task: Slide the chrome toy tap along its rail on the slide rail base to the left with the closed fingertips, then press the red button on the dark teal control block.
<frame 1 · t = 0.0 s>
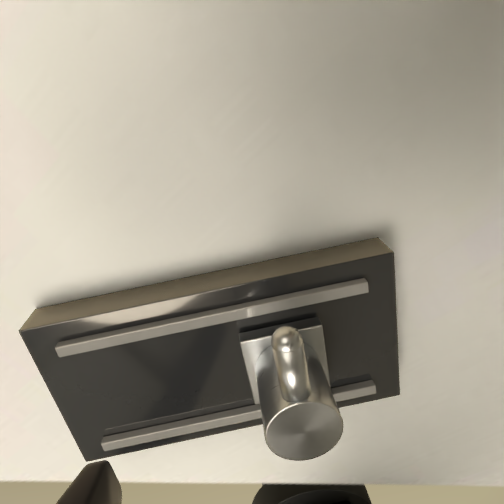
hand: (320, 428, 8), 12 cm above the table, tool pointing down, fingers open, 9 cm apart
slide rail base: (225, 342, 22), on the table
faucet: (292, 383, 18), point 5 cm above the table, slide at 0.0 cm
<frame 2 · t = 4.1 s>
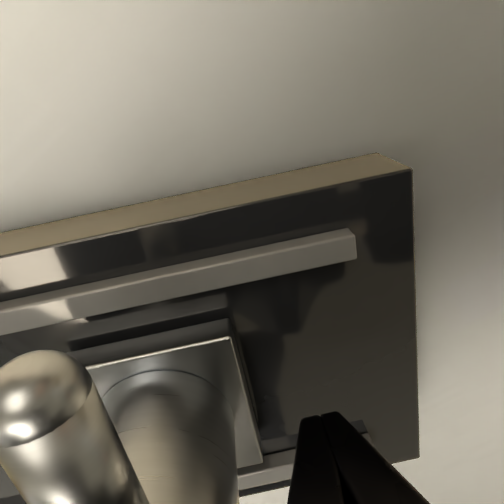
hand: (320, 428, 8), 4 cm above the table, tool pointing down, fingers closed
slide rail base: (94, 362, 12), on the table
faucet: (150, 475, 8), point 5 cm above the table, slide at 0.5 cm, touching gripper
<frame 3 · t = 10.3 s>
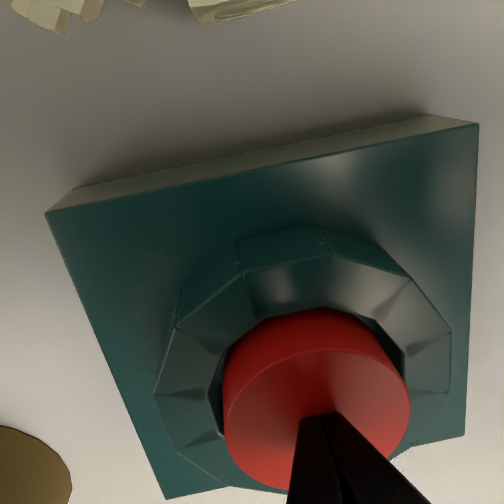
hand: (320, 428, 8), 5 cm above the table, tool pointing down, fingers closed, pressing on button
button block: (281, 304, 13), on the table
button: (309, 397, 9), point 4 cm above the table, slide at -0.3 cm, touching gripper
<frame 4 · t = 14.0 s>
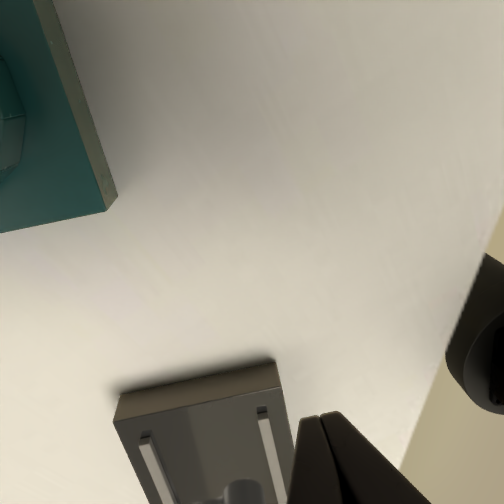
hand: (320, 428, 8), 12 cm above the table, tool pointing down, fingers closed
slide rail base: (230, 482, 26), on the table
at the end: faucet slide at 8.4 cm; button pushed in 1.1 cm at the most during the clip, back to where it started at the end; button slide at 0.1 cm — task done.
